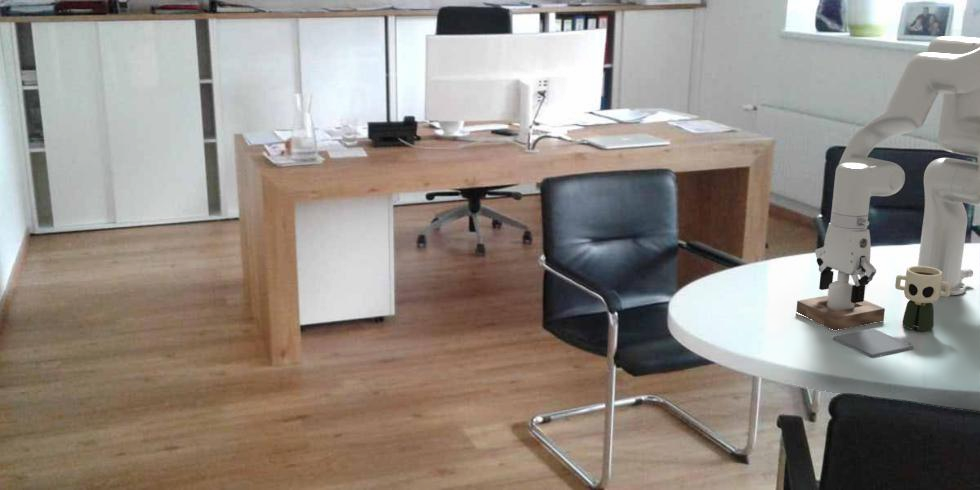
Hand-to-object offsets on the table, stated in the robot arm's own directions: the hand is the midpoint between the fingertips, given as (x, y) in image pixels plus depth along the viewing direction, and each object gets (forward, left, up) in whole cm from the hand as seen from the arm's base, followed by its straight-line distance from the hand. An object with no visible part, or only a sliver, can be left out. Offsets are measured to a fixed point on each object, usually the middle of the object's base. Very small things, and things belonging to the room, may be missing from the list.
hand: (840, 295), depth 223 cm
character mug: (-11, +12, -5) cm, 17 cm away
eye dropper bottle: (0, 0, -5) cm, 5 cm away
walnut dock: (0, 0, -5) cm, 5 cm away
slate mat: (+5, +15, -5) cm, 17 cm away
